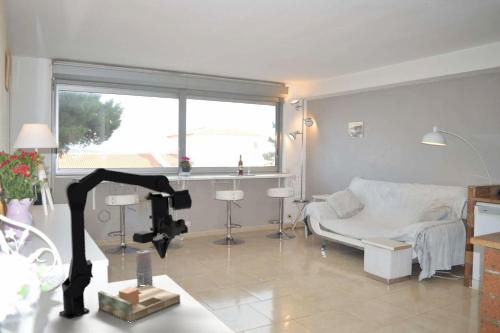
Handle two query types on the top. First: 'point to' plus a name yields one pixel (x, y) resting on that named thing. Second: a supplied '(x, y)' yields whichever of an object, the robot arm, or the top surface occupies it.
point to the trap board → (147, 305)
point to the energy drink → (144, 267)
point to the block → (129, 295)
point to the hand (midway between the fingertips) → (162, 258)
